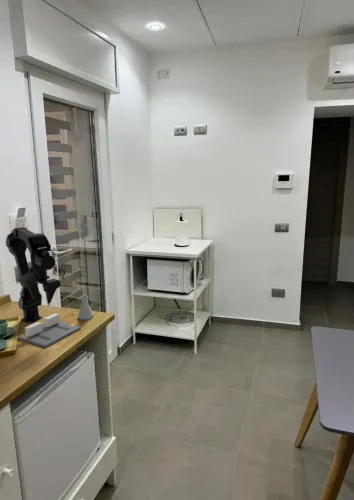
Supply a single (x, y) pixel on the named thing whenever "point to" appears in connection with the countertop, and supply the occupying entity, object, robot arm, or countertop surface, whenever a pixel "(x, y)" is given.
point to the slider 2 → (51, 320)
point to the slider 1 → (33, 329)
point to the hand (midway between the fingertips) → (41, 301)
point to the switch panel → (50, 334)
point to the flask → (85, 309)
